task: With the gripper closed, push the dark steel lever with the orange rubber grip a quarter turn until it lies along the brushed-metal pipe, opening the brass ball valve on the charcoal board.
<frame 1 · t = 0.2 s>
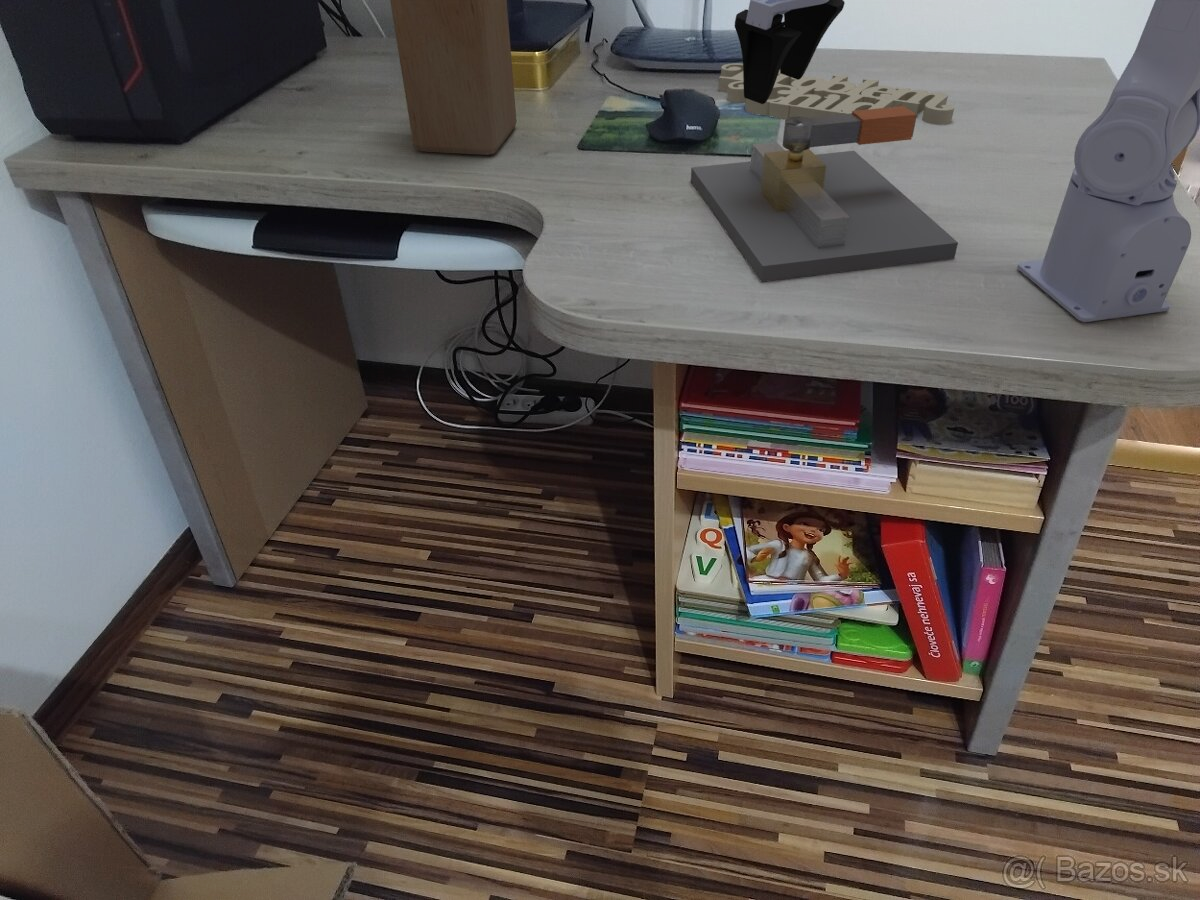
hand: (773, 87, 83), 10 cm above the table, tool pointing down, fingers open, 7 cm apart
decorative sign: (821, 111, 110), on the table
valve lever: (847, 128, 82), point 8 cm above the table, hinge at 0.0°
block: (467, 141, 103), on the table
mounting board: (811, 216, 85), on the table
ball valve: (788, 214, 86), resting on mounting board
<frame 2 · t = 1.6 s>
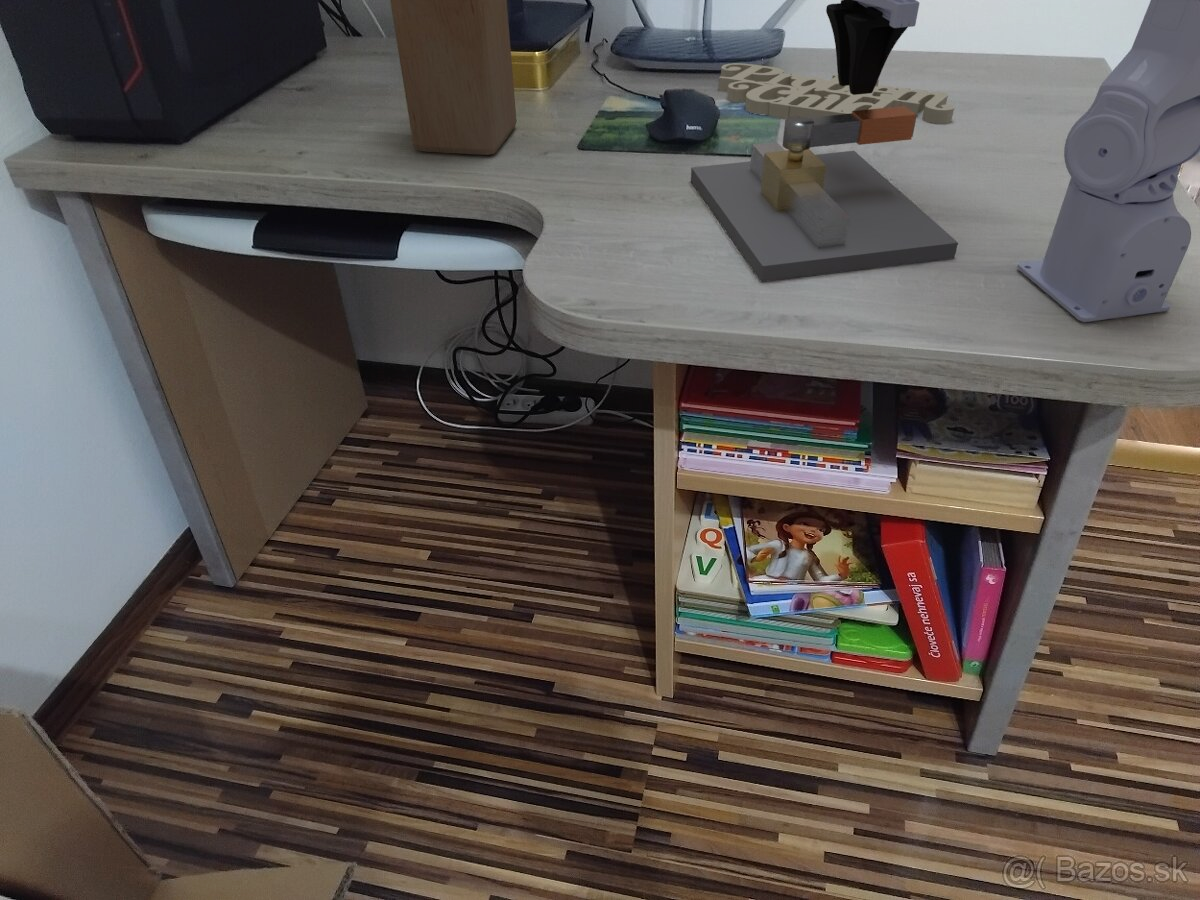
hand: (855, 88, 86), 9 cm above the table, tool pointing down, fingers closed
nothing on the table moved.
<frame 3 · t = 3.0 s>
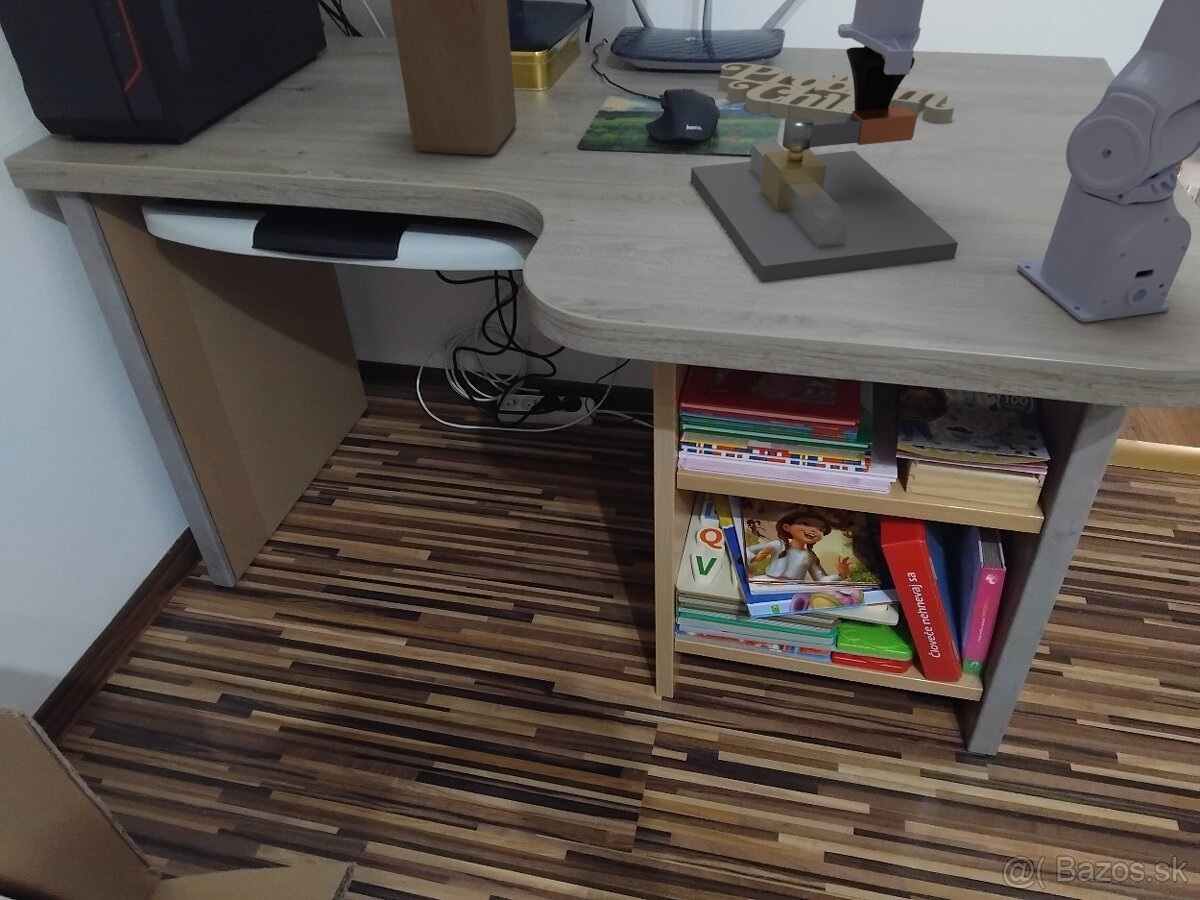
hand: (867, 129, 84), 7 cm above the table, tool pointing down, fingers closed, pressing on valve lever
valve lever: (848, 128, 81), point 8 cm above the table, hinge at 0.5°, touching gripper
everything else where it was.
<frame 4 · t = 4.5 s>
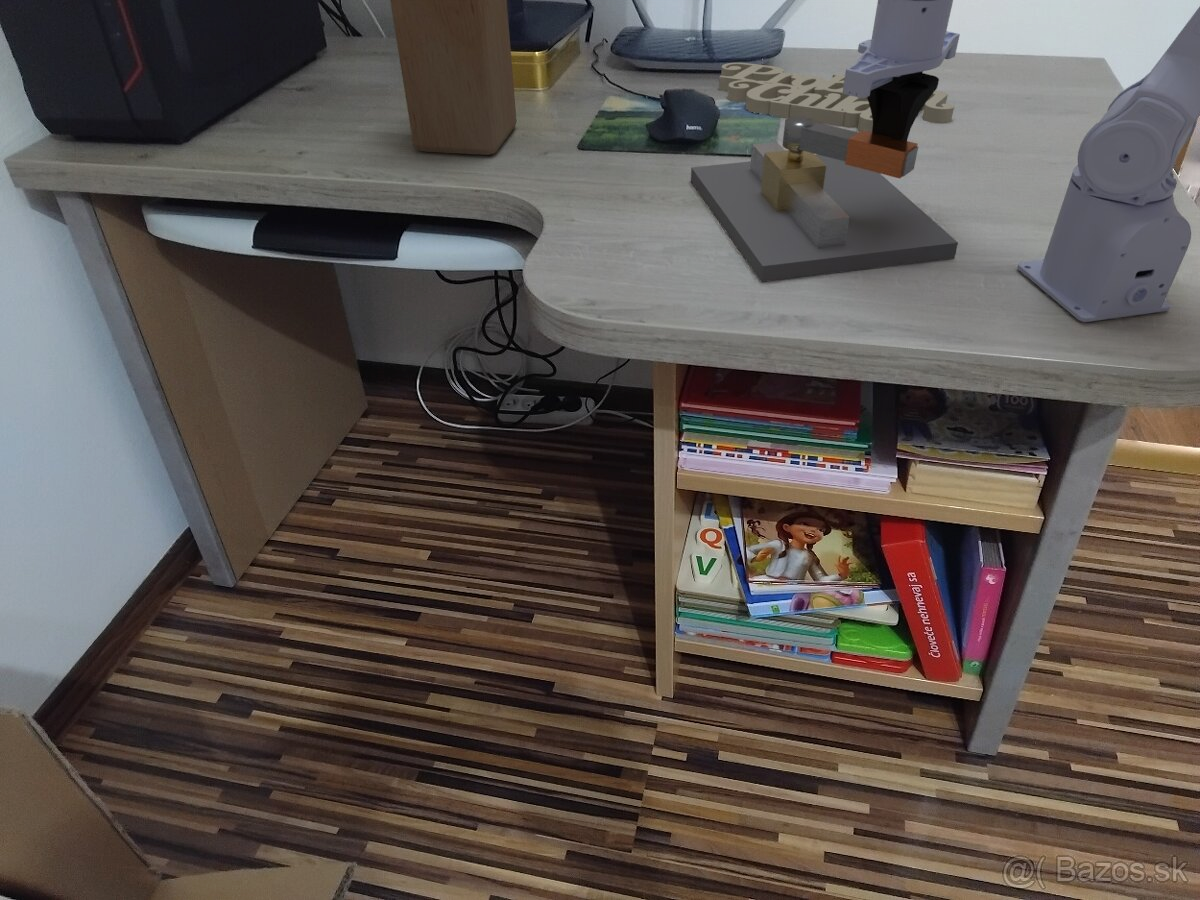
hand: (884, 159, 79), 7 cm above the table, tool pointing down, fingers closed, pressing on valve lever
valve lever: (845, 145, 78), point 8 cm above the table, hinge at 51.7°, touching gripper
everything else where it was.
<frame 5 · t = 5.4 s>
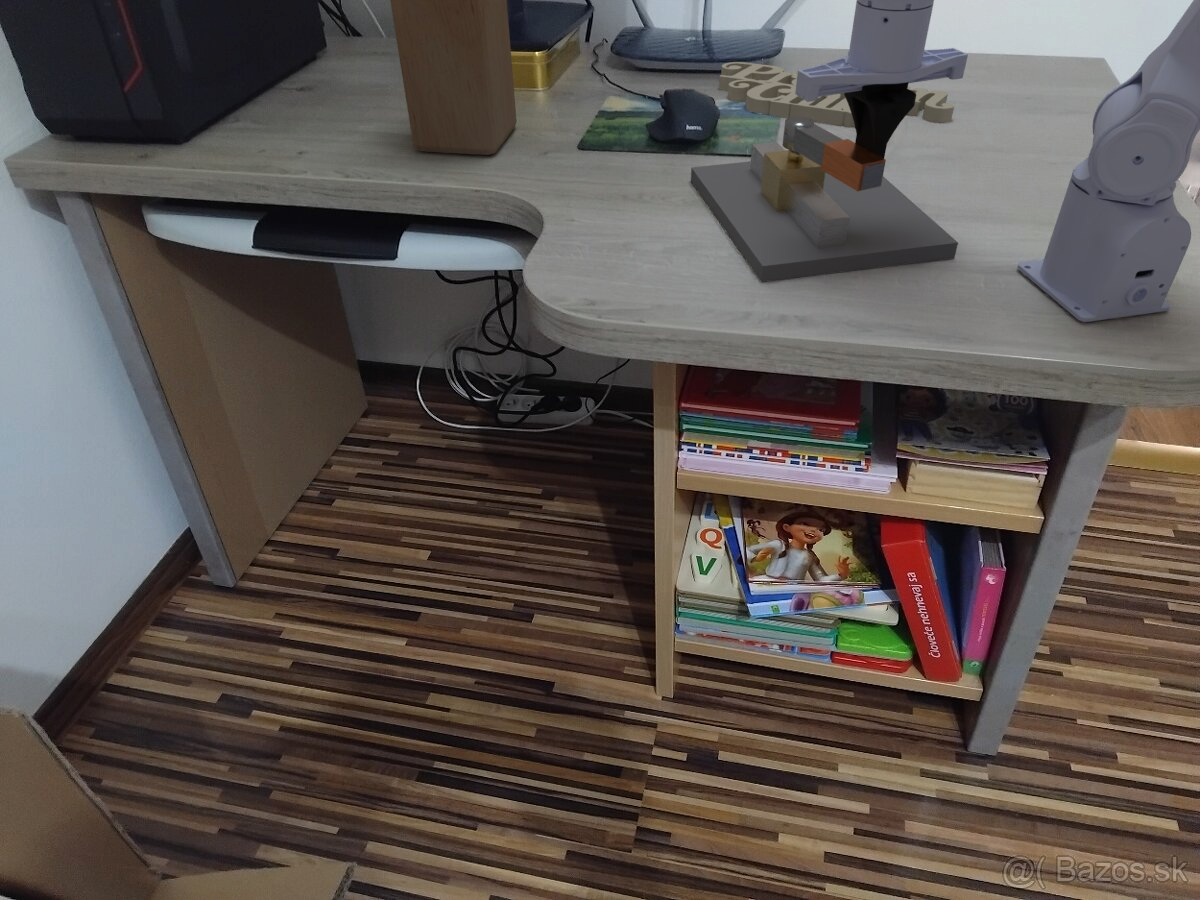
hand: (865, 173, 76), 7 cm above the table, tool pointing down, fingers closed, pressing on valve lever
valve lever: (829, 151, 77), point 8 cm above the table, hinge at 77.5°, touching gripper
everything else where it was.
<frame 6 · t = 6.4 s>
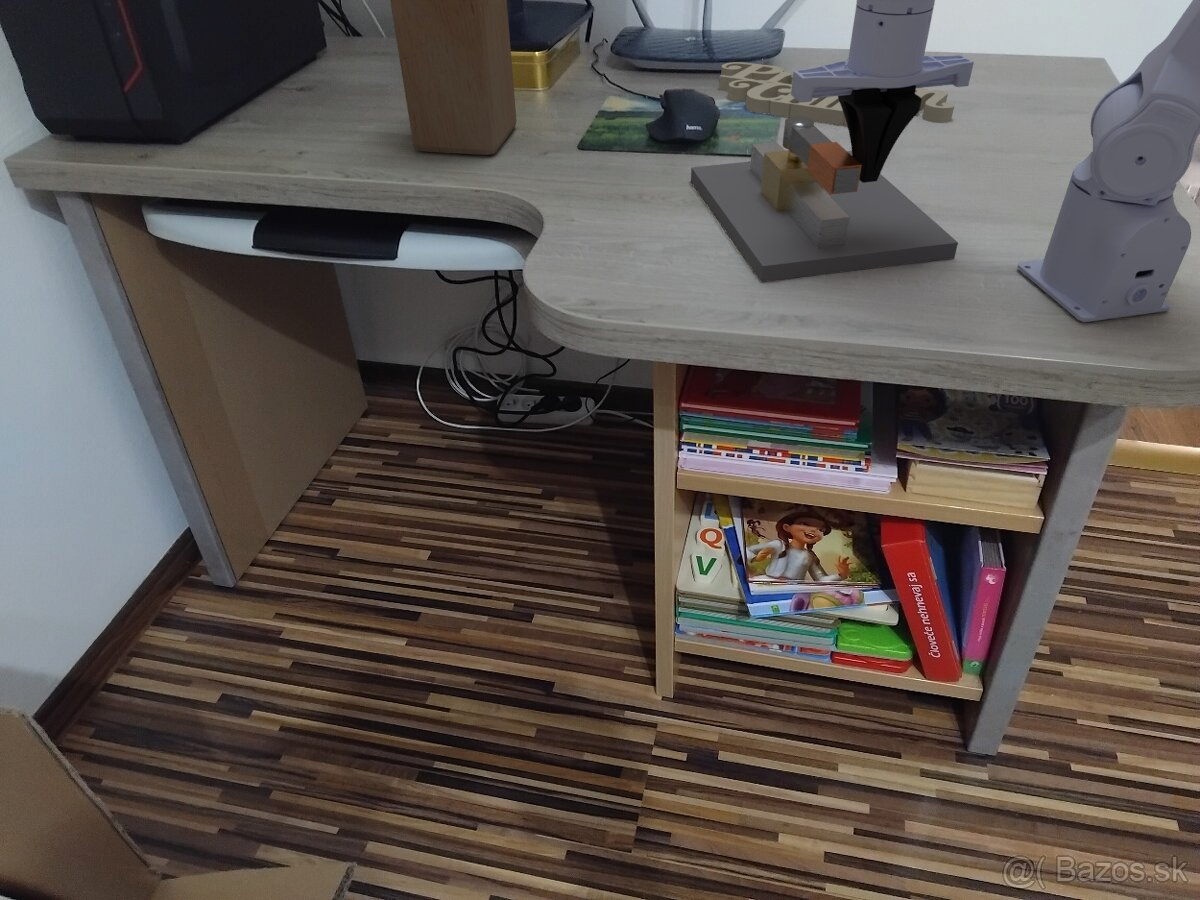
hand: (864, 177, 76), 7 cm above the table, tool pointing down, fingers closed
valve lever: (818, 153, 77), point 8 cm above the table, hinge at 90.2°
everything else where it was.
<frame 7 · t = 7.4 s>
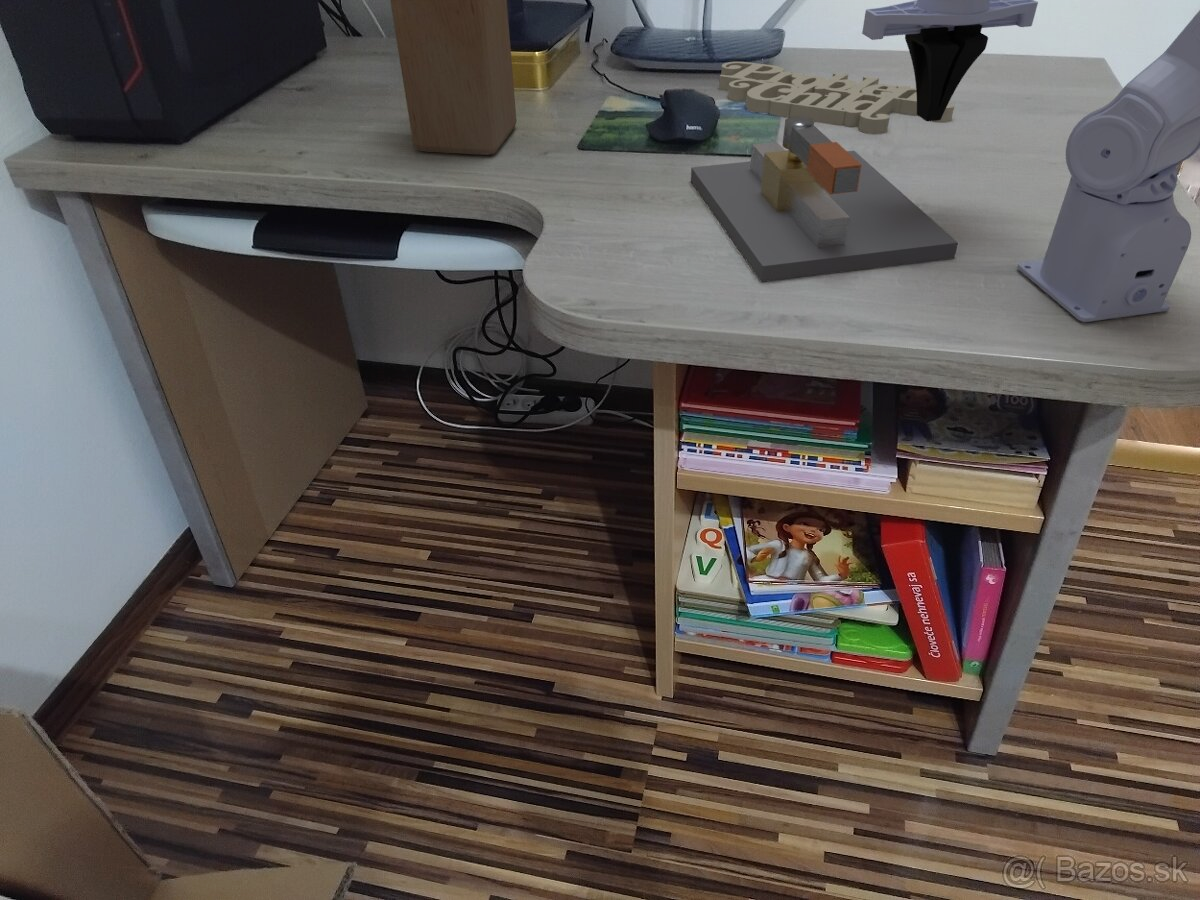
hand: (928, 117, 79), 9 cm above the table, tool pointing down, fingers closed
nothing on the table moved.
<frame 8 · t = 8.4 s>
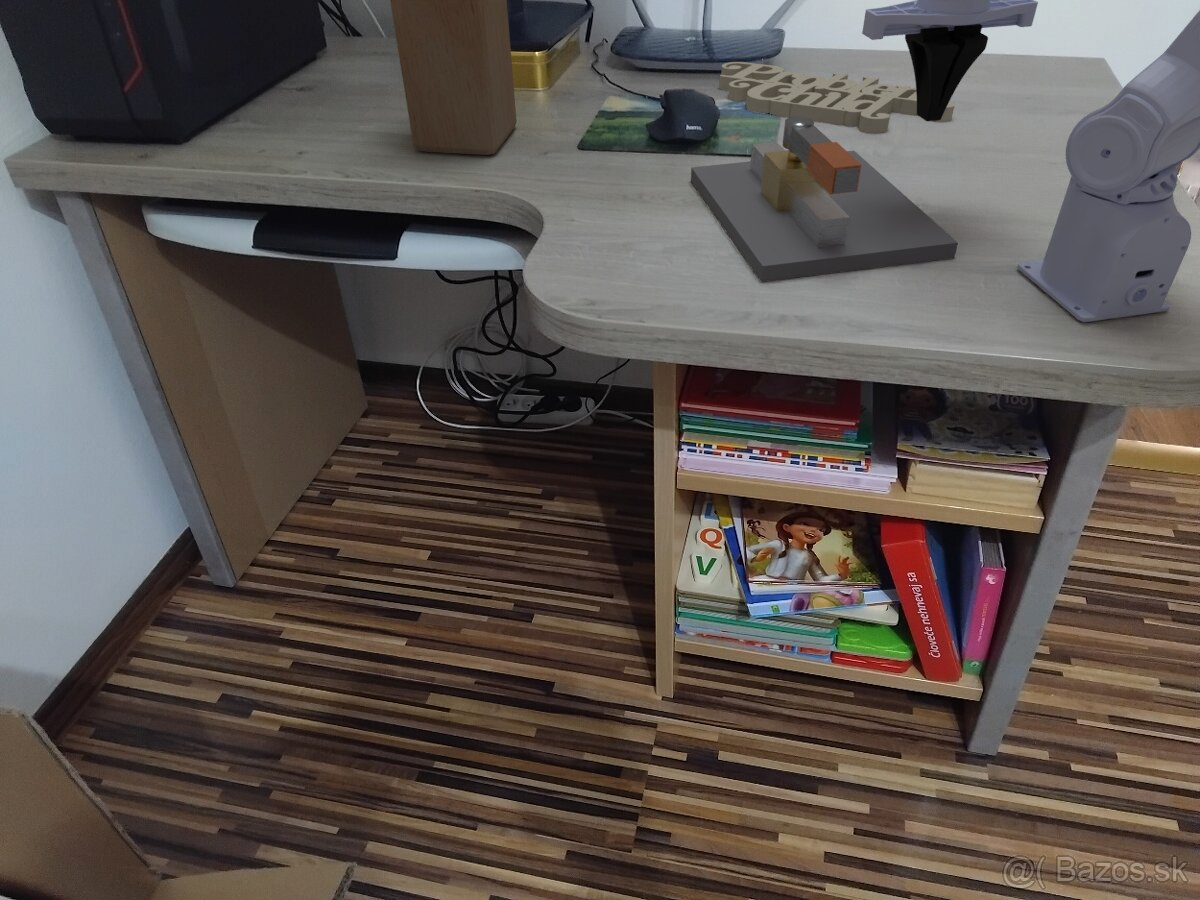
hand: (928, 117, 79), 9 cm above the table, tool pointing down, fingers closed
nothing on the table moved.
at the end: valve lever at +90° (first picture: +0°) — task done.
